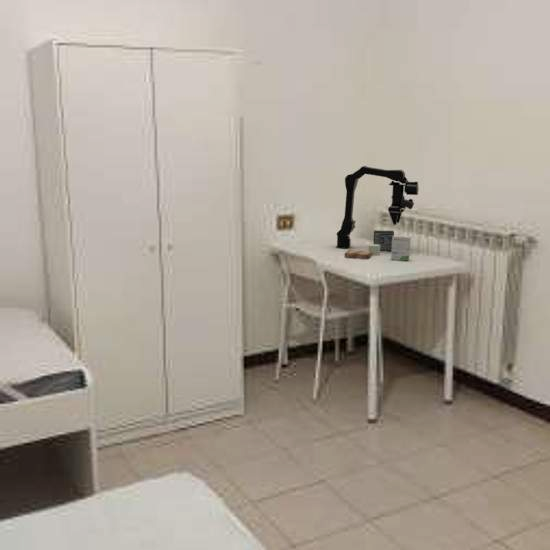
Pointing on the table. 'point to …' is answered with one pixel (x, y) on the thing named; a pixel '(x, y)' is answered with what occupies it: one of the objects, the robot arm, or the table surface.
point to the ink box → (400, 248)
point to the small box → (383, 239)
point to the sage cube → (374, 249)
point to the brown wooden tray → (358, 254)
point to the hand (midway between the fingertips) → (396, 223)
